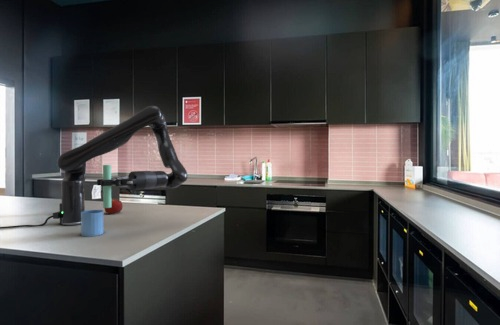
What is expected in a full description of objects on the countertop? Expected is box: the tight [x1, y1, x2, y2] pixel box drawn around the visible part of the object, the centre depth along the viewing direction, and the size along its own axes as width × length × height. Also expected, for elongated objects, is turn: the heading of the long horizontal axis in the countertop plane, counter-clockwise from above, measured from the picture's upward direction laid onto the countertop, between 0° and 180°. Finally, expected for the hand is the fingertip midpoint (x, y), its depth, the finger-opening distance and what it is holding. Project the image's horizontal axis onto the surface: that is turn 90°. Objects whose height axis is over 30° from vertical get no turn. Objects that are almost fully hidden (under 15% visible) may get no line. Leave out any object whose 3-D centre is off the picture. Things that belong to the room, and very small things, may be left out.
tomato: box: [104, 198, 124, 214], centre depth 167 cm, size 9×9×8 cm
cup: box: [80, 209, 105, 237], centre depth 125 cm, size 8×8×9 cm
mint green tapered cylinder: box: [102, 164, 112, 209], centre depth 117 cm, size 3×3×16 cm
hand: (99, 182), depth 114 cm, fingers closed on mint green tapered cylinder, 2 cm apart
